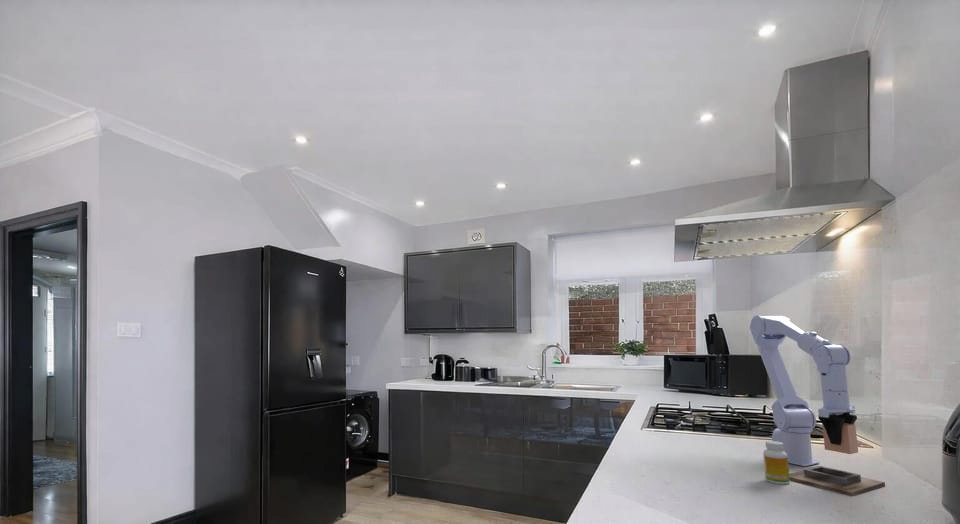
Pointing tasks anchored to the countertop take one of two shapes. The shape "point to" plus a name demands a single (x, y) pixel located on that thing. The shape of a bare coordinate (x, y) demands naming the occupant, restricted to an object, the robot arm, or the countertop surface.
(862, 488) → the socket board
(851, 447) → the plug block
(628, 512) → the countertop surface
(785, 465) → the supplement bottle
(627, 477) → the countertop surface
